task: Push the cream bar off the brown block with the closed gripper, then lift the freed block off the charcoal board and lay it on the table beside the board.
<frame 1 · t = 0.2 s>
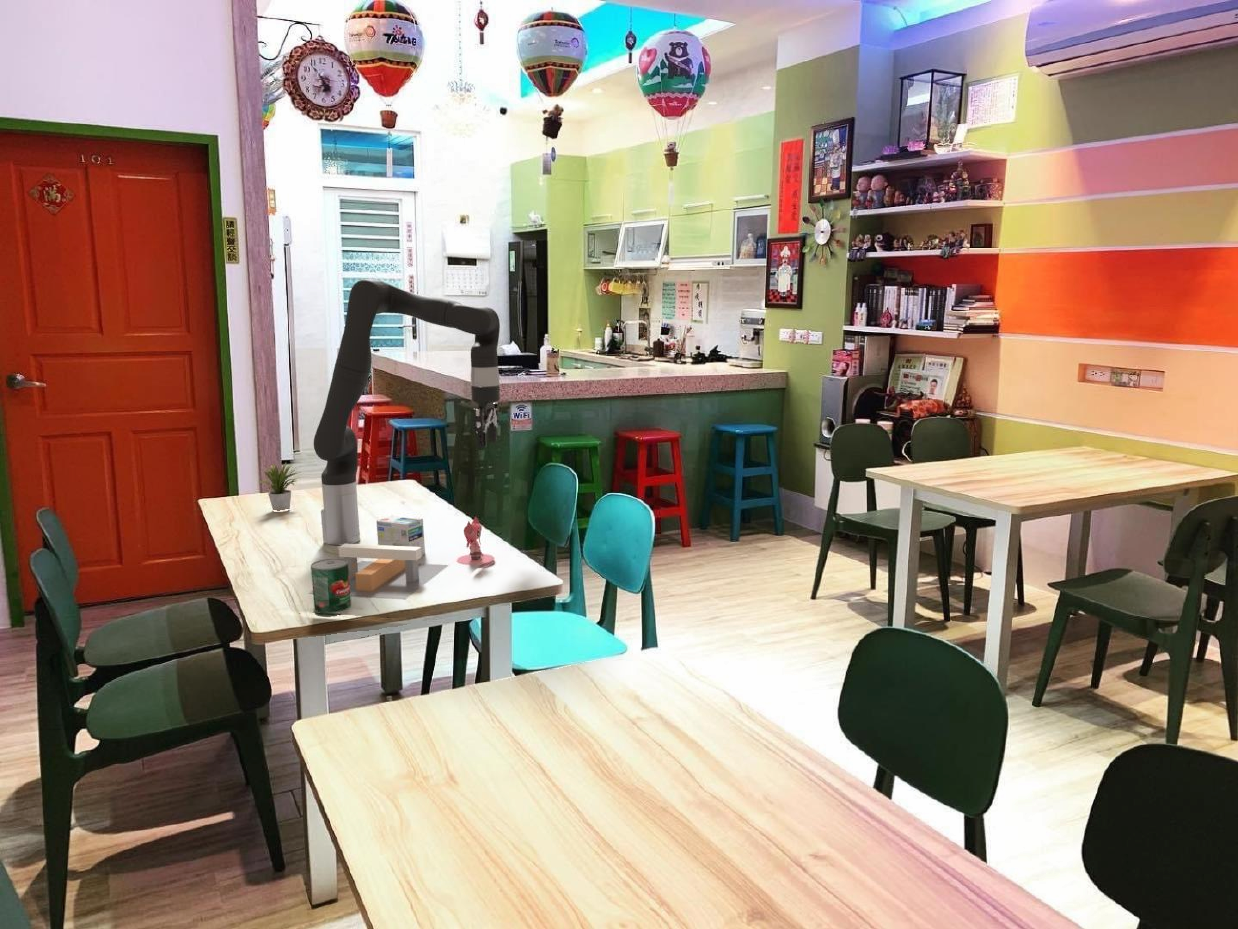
hand: (487, 443, 241), 29 cm above the table, tool pointing down, fingers open, 8 cm apart
cream bar: (380, 552, 217), point 8 cm above the table, slide at 0.0 cm
house plant: (281, 512, 292), on the table
cable board: (382, 582, 218), on the table
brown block: (381, 578, 218), point 1 cm above the table, touching cable board
light bulb box: (402, 559, 238), on the table
toy figure: (475, 563, 233), on the table
canned tomato: (333, 611, 199), on the table
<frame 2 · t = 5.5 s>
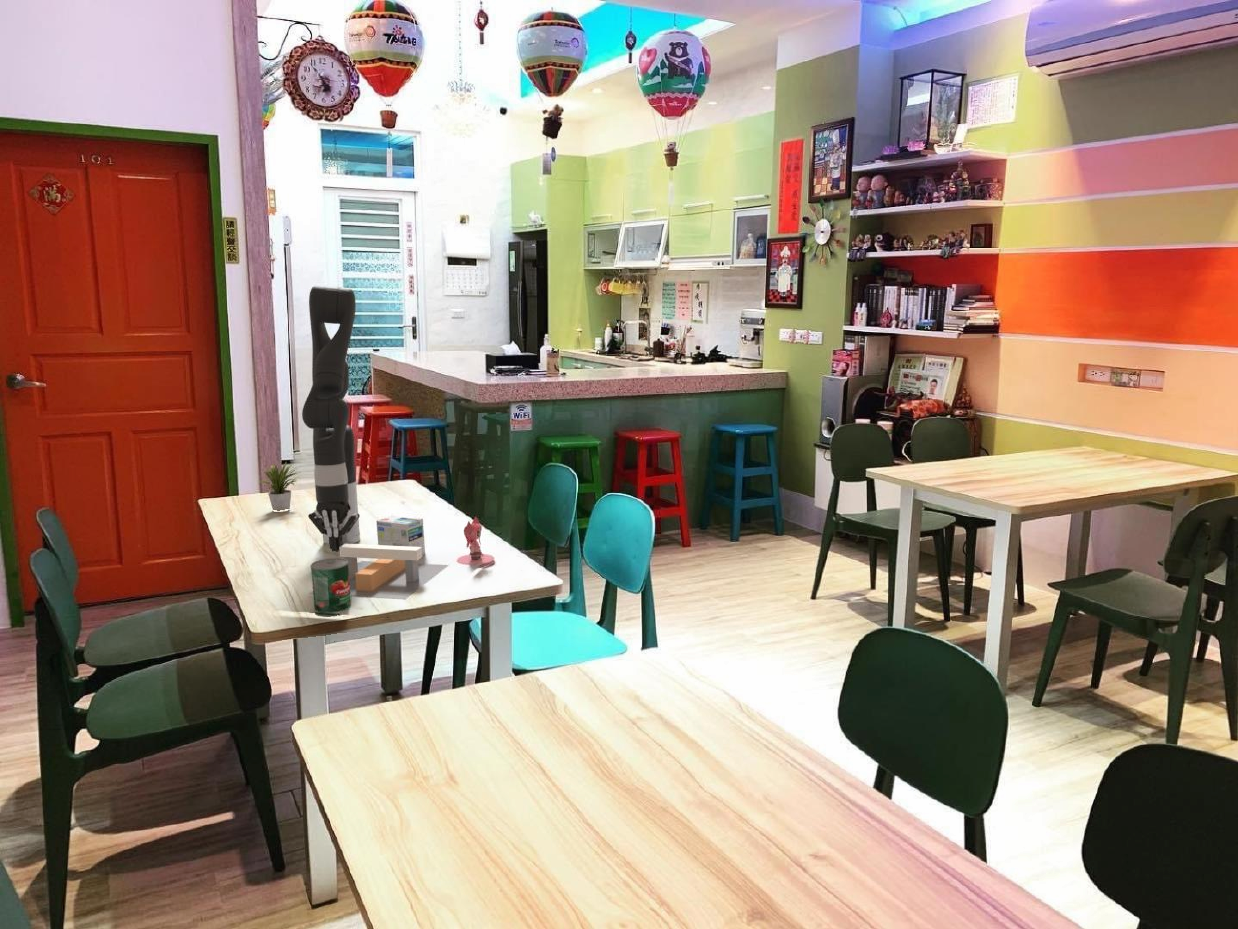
hand: (336, 550, 219), 8 cm above the table, tool pointing down, fingers closed
cream bar: (380, 552, 217), point 8 cm above the table, slide at 0.2 cm, touching gripper
everything else where it was.
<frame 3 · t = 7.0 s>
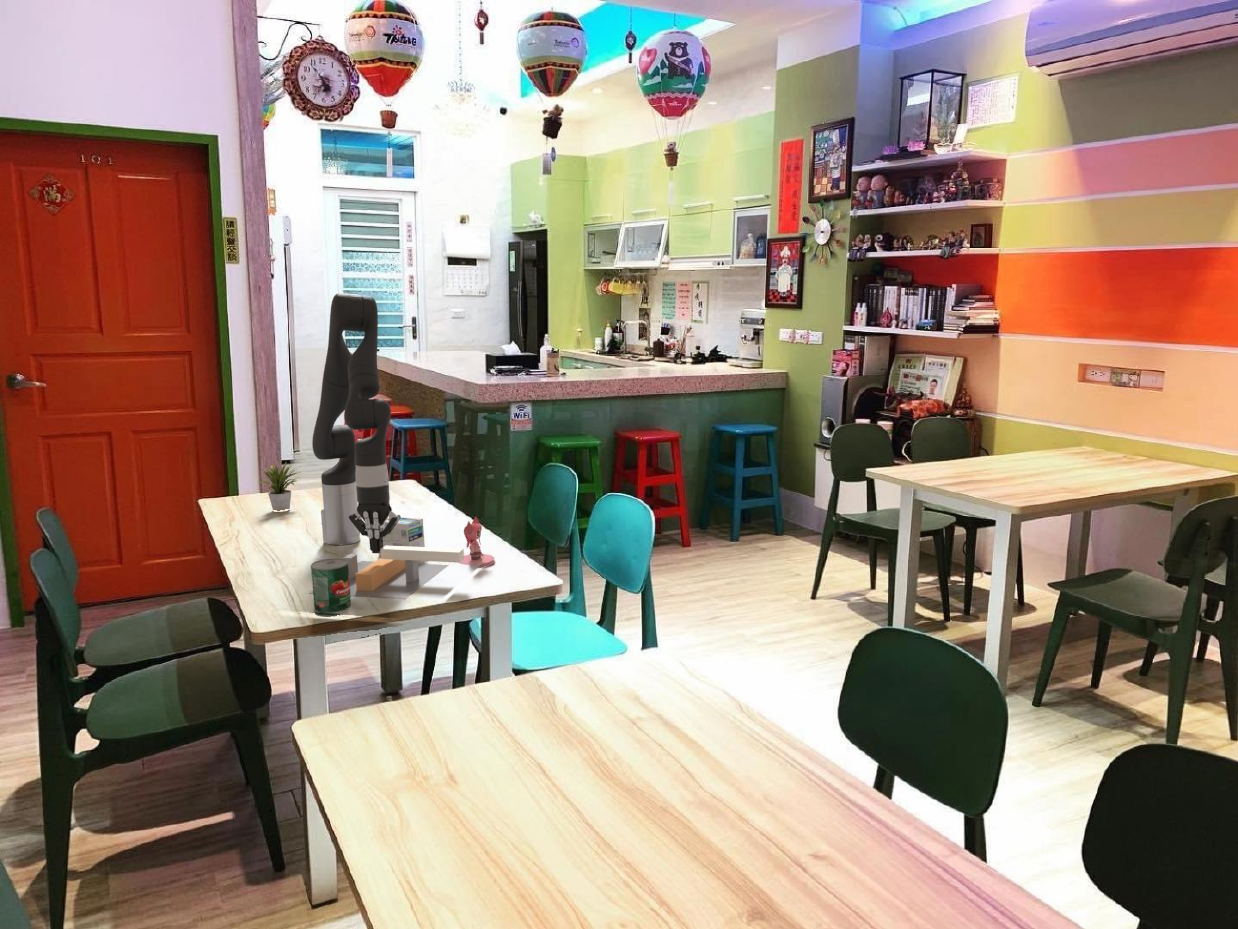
hand: (377, 552, 217), 8 cm above the table, tool pointing down, fingers closed
cream bar: (422, 553, 214), point 8 cm above the table, slide at 10.9 cm, touching gripper
everything else where it was.
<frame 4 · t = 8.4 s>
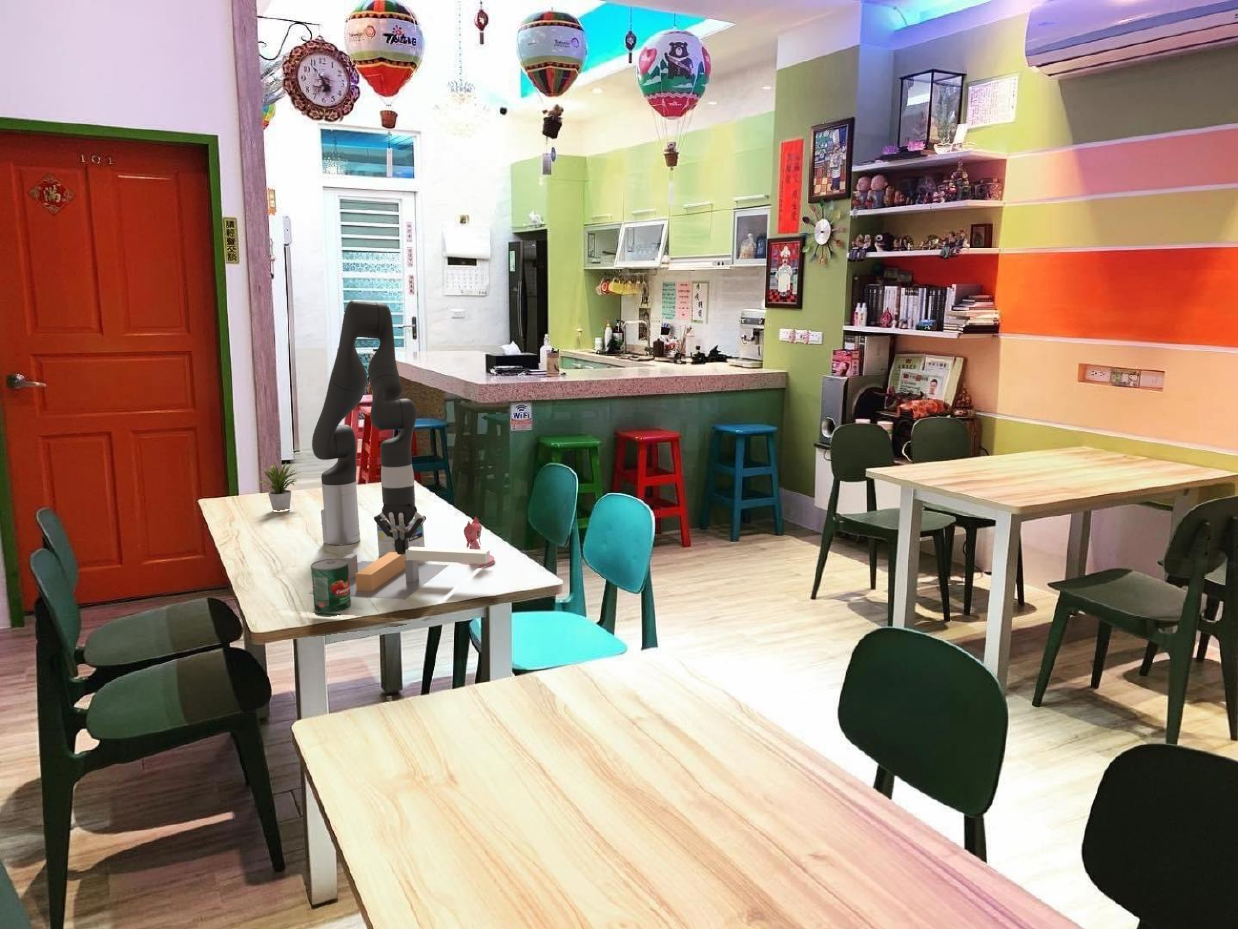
hand: (402, 553, 215), 8 cm above the table, tool pointing down, fingers closed
cream bar: (447, 555, 213), point 8 cm above the table, slide at 17.4 cm, touching gripper
everything else where it was.
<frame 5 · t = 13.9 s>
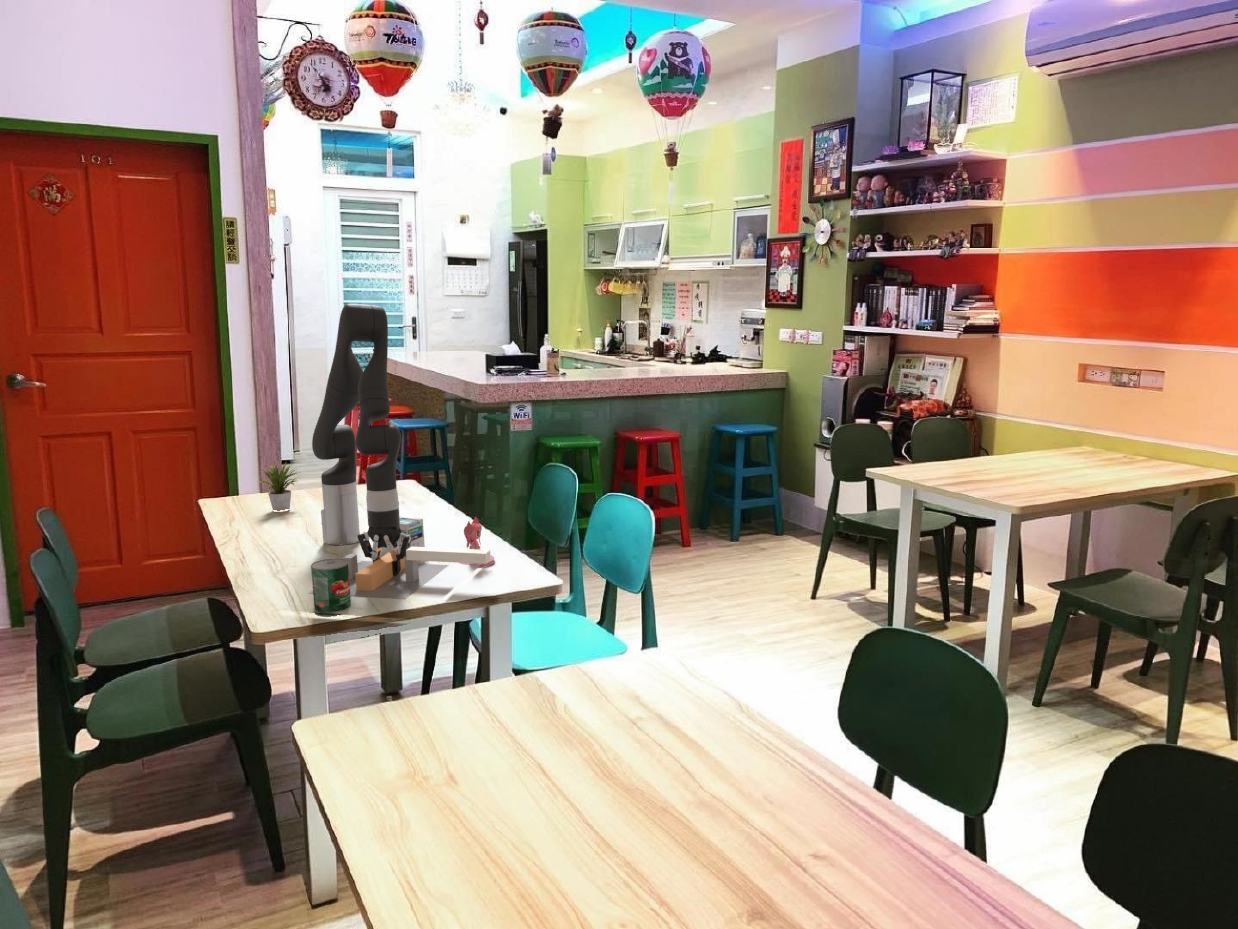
hand: (387, 573, 221), 1 cm above the table, tool pointing down, fingers closed on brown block, 4 cm apart
cream bar: (448, 555, 213), point 8 cm above the table, slide at 17.5 cm
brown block: (381, 578, 218), point 1 cm above the table, touching cable board, gripper
everything else where it was.
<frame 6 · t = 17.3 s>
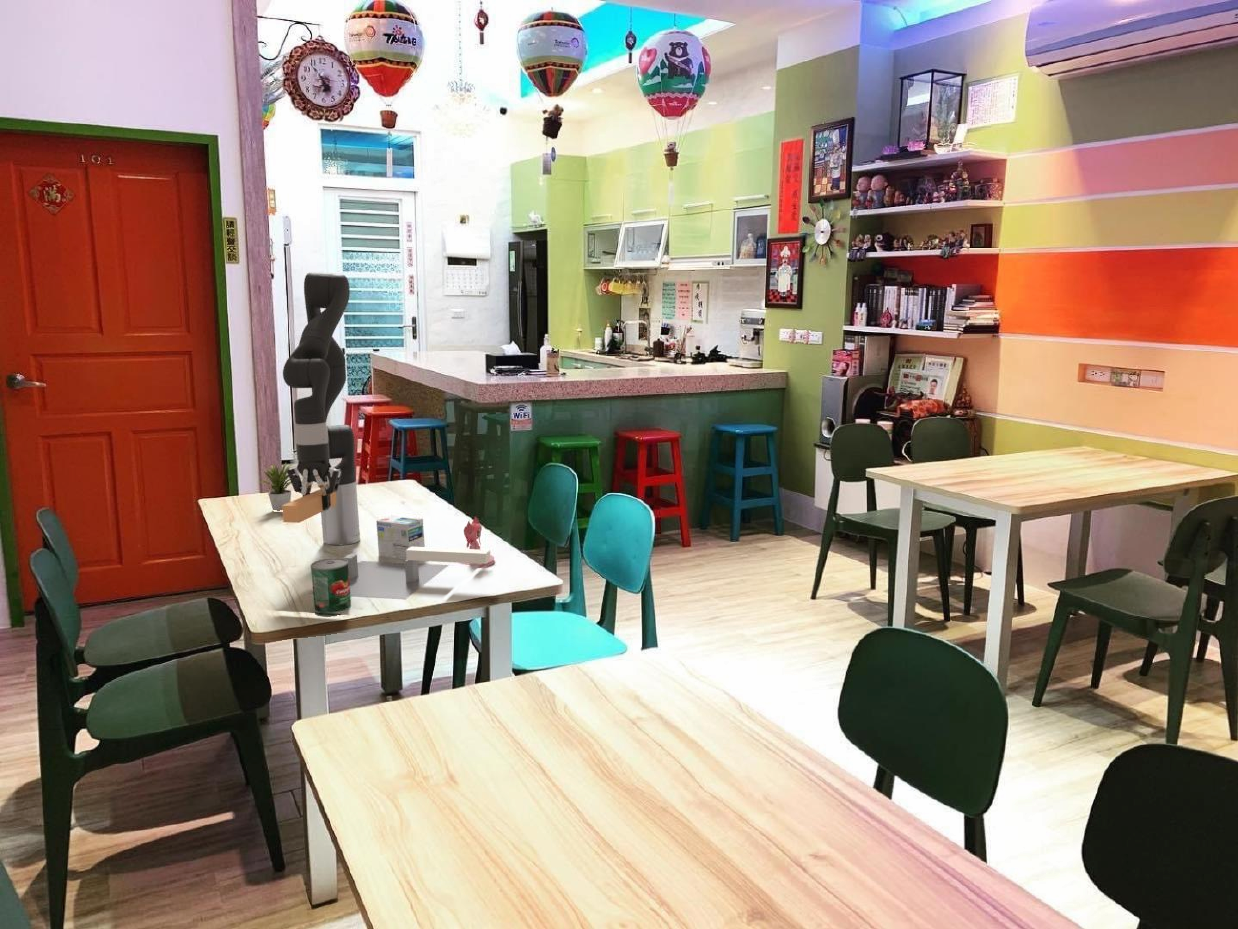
hand: (317, 509, 221), 17 cm above the table, tool pointing down, fingers closed on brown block, 4 cm apart
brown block: (311, 513, 218), point 17 cm above the table, touching gripper
everything else where it was.
when the fingers open (2 cm above the table, at t = 20.7 s): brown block drops 2 cm, on the table.
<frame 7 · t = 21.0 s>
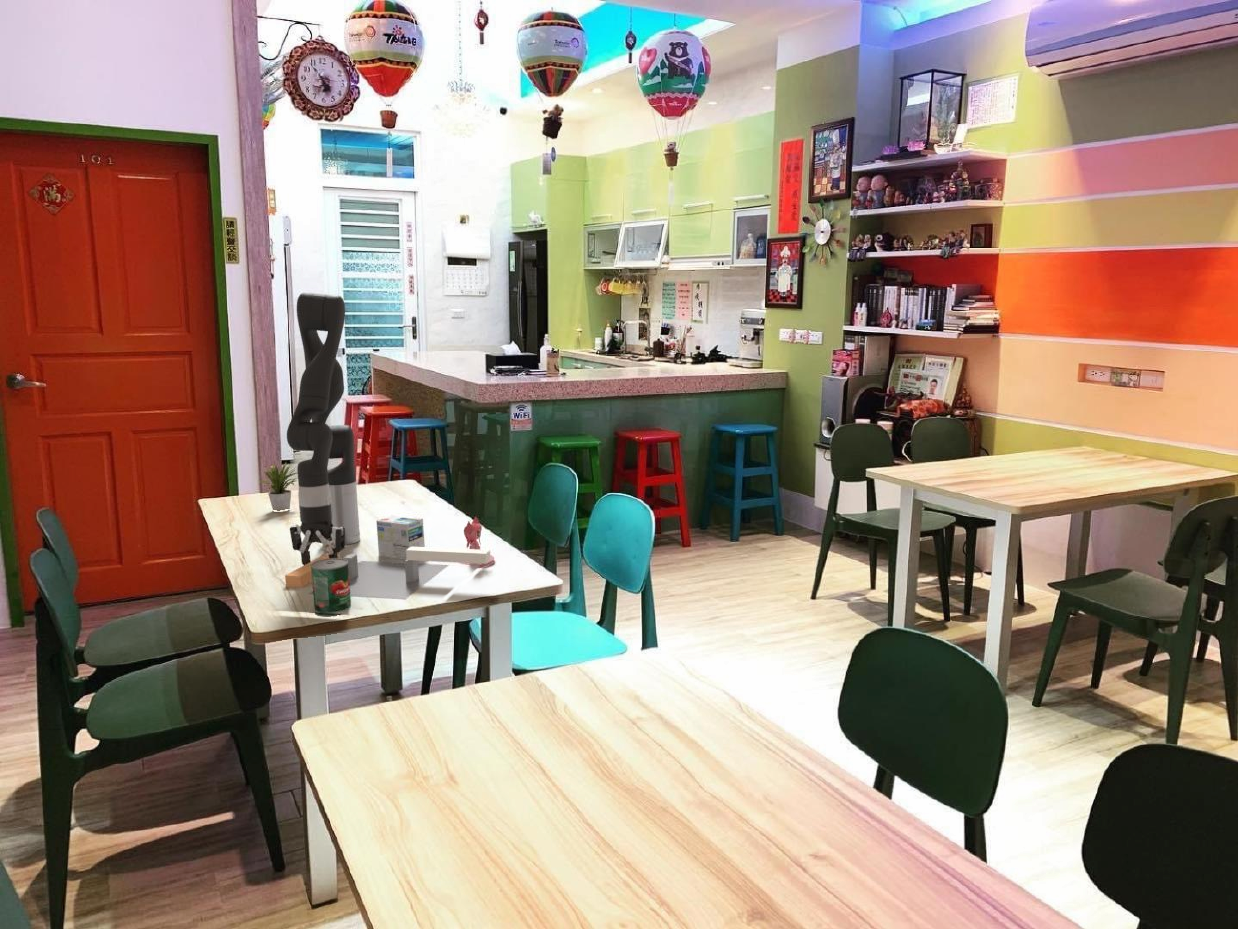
hand: (320, 566, 224), 2 cm above the table, tool pointing down, fingers open, 6 cm apart
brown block: (314, 580, 222), on the table
everything else where it was.
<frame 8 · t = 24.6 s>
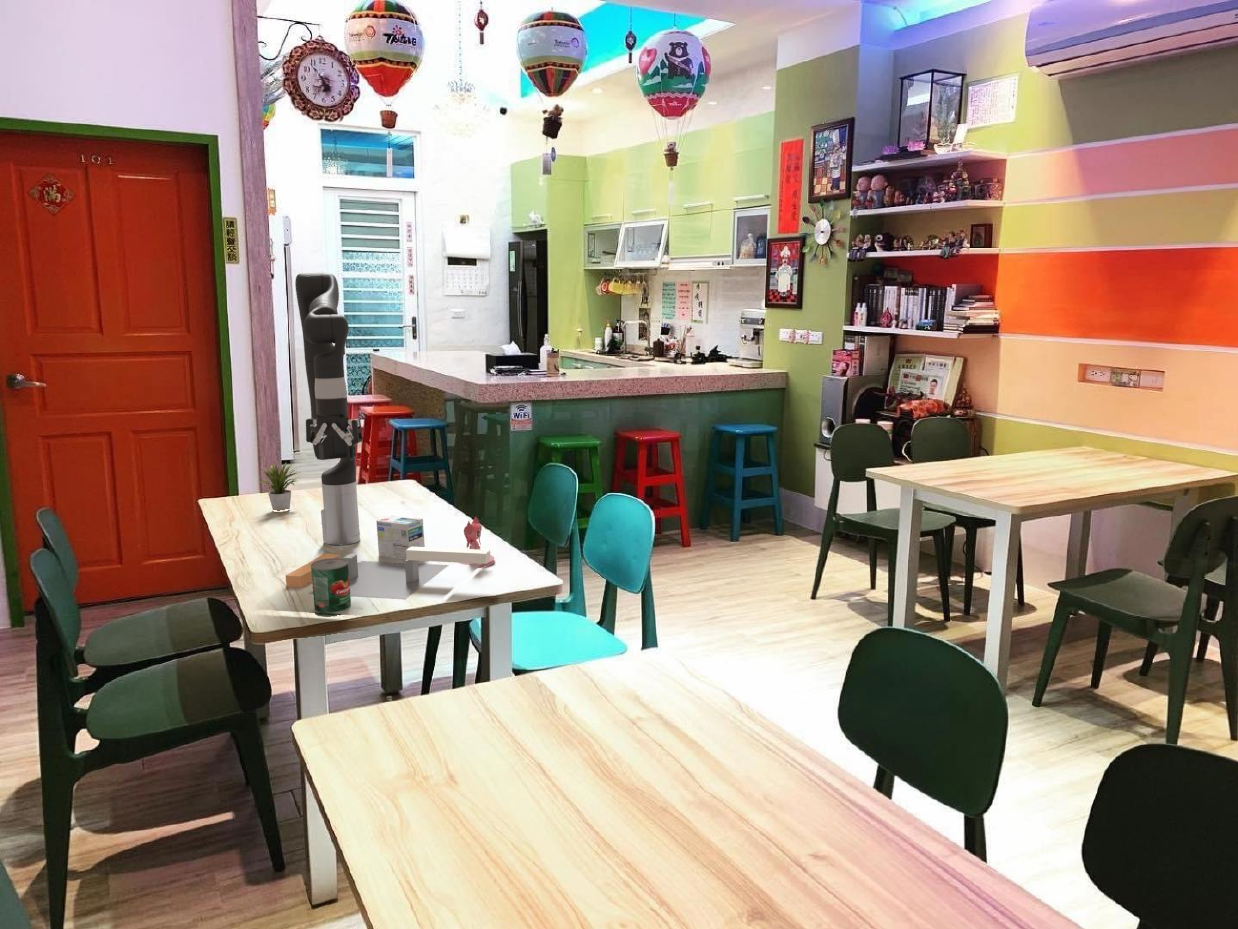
hand: (335, 459, 226), 28 cm above the table, tool pointing down, fingers open, 8 cm apart
nothing on the table moved.
at the end: cream bar slide at 17.5 cm; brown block inside the target area (0.4 cm from its centre), on the table; the gripper is holding nothing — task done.
